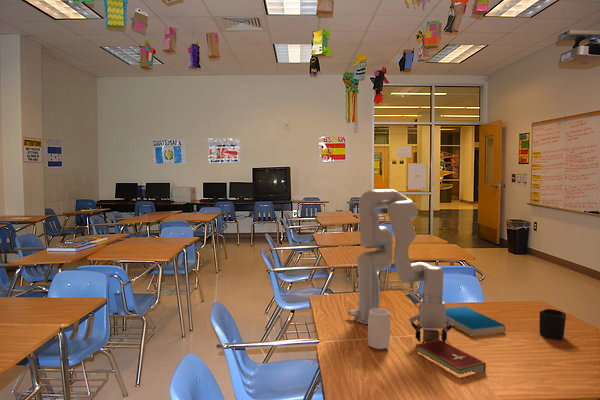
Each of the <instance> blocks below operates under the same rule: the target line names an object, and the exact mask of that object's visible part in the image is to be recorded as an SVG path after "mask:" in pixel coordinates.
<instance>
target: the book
mask: <svg viewBox="0 0 600 400" xmlns="http://www.w3.org/2000/svg"><path fill="white" fill-rule="evenodd" d="M445 308H446V316H447V317H449V318H450V319H452V320H454V322H455V323H454V324H453V326H452V327H454V326H455V327H454V328H456V327H457V328H456V329H458V328H459V329H458V330H460V331H461V330H462V332H463V331H464V332H463V333H465V332H466V333H465V334H467V333H468V334H467V335H469V334H470V335H472V336H474V337H479V336H478V335H482V336H489V335H488V334H490V335H497V334H496V333H498V334H504V333H505V332H506V326H505V324H504V323H501V322H499V321H498V320H496V319H493V318H492V317H488V316H486V314H485V315H484V314H482V313H480V312H478V311H476V310H475V309H471V308H469V307H468V306H465V305H464V306H455V307H445ZM447 322H448V324H449V321H447V320H446V323H447ZM470 335H469V336H470ZM472 336H471V337H472Z"/></svg>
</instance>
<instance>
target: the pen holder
mask: <svg viewBox="0 0 600 400" xmlns="http://www.w3.org/2000/svg"><path fill="white" fill-rule="evenodd" d="M566 317H567V314H566V313H565V312H563V311H561V310H559V309H558V310H557V309H553V308H552V309H551V308H545V309H543V310H539V323H538V325H539V334H540V336H542V337H544V338H546V339H550V340H557V341H558V340H563V339H564V337H565V329H566V320H567V318H566Z"/></svg>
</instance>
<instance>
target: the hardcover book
mask: <svg viewBox="0 0 600 400" xmlns="http://www.w3.org/2000/svg"><path fill="white" fill-rule="evenodd" d="M415 346H416V347H417V350H416V351H417V352H419V353H421V354H423V355H425V356H427V357H429V358H430V359H432V360H434V361H436V362H438V363H440V364H442V365H443V366H445V367H447V368H449V369H450V370H452V371H454V372H456V373H458V374H464V373H467V372H471V371H472V372H475V373H478V374H481V373H486V370H487V369H486V368H487V366H486V365H487V364H486V362H485V361H483V360H481V359H479V358H477V357H475V356H474V355H473V356H472V355H470V353H468V352H465V351H463V350H461V349H460V348H457V347H455V346H453V345H451V344H449V343H447V342H446V341H445V342H443V341H442V339H439V340H435V341H431V342H426V343H423V342H422V343H421V342H420V343H418V344H416V345H415Z"/></svg>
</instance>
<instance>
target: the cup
mask: <svg viewBox="0 0 600 400" xmlns="http://www.w3.org/2000/svg"><path fill="white" fill-rule="evenodd" d="M390 336H391V313H390V311H389V310H388V309H387V308H386V309H385V308H382V307H381V308H380V307H379V308H374V309H371V310H370V311H369V317H368V325H367V341H368V342H367V343H368V346H369V347H371V348H374V349H378V350H383V349H388V348H389V346H390Z"/></svg>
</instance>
